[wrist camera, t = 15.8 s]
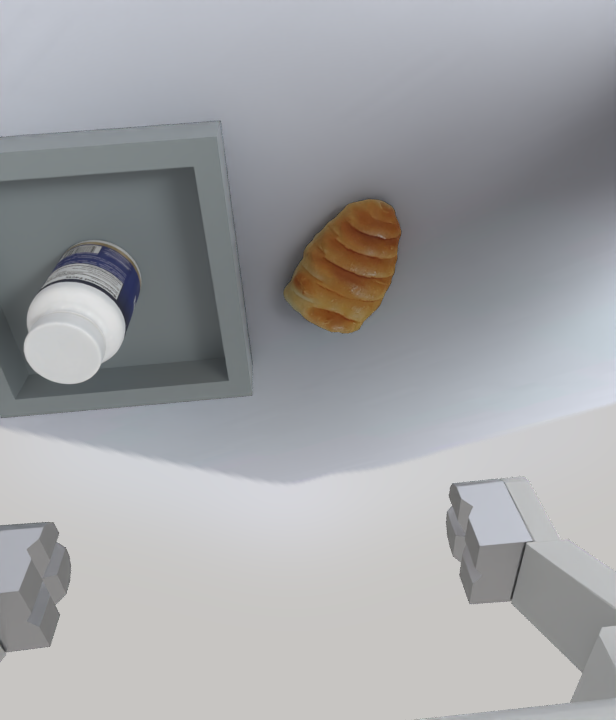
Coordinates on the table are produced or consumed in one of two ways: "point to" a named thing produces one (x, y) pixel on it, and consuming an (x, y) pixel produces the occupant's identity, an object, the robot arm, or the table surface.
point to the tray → (144, 244)
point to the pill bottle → (82, 312)
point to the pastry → (347, 267)
